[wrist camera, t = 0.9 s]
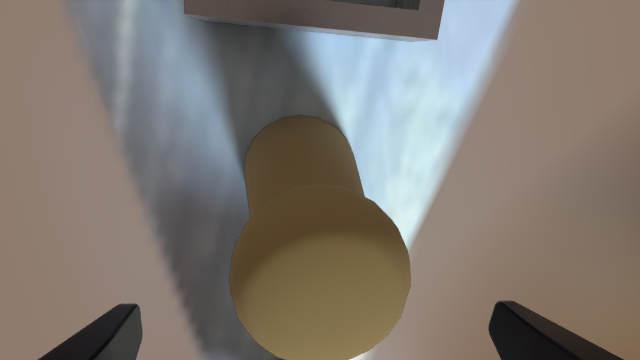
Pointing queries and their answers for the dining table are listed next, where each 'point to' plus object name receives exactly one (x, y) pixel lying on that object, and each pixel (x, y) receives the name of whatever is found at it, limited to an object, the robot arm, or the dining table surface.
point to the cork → (314, 248)
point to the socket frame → (327, 16)
